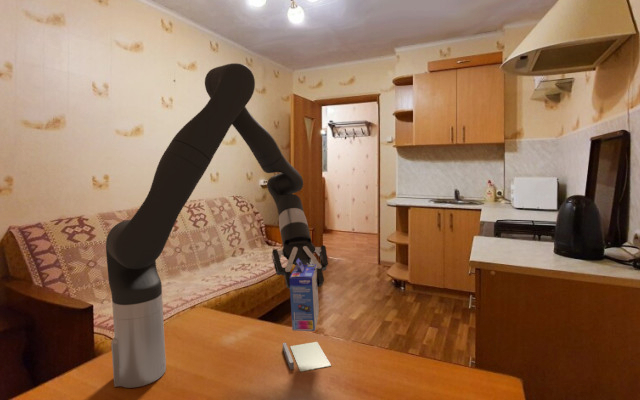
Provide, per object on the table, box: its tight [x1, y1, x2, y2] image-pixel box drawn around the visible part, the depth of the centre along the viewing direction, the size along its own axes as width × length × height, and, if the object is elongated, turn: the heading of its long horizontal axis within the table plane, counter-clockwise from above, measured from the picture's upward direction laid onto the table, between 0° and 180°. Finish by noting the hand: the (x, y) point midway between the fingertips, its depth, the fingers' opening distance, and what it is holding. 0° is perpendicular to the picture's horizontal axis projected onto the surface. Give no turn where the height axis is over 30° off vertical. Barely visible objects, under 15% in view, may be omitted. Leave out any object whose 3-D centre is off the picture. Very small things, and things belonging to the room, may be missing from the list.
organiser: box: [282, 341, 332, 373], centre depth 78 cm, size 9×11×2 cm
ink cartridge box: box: [289, 258, 320, 332], centre depth 77 cm, size 10×6×14 cm, turn 176°
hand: (306, 286), depth 79 cm, fingers closed on ink cartridge box, 6 cm apart
